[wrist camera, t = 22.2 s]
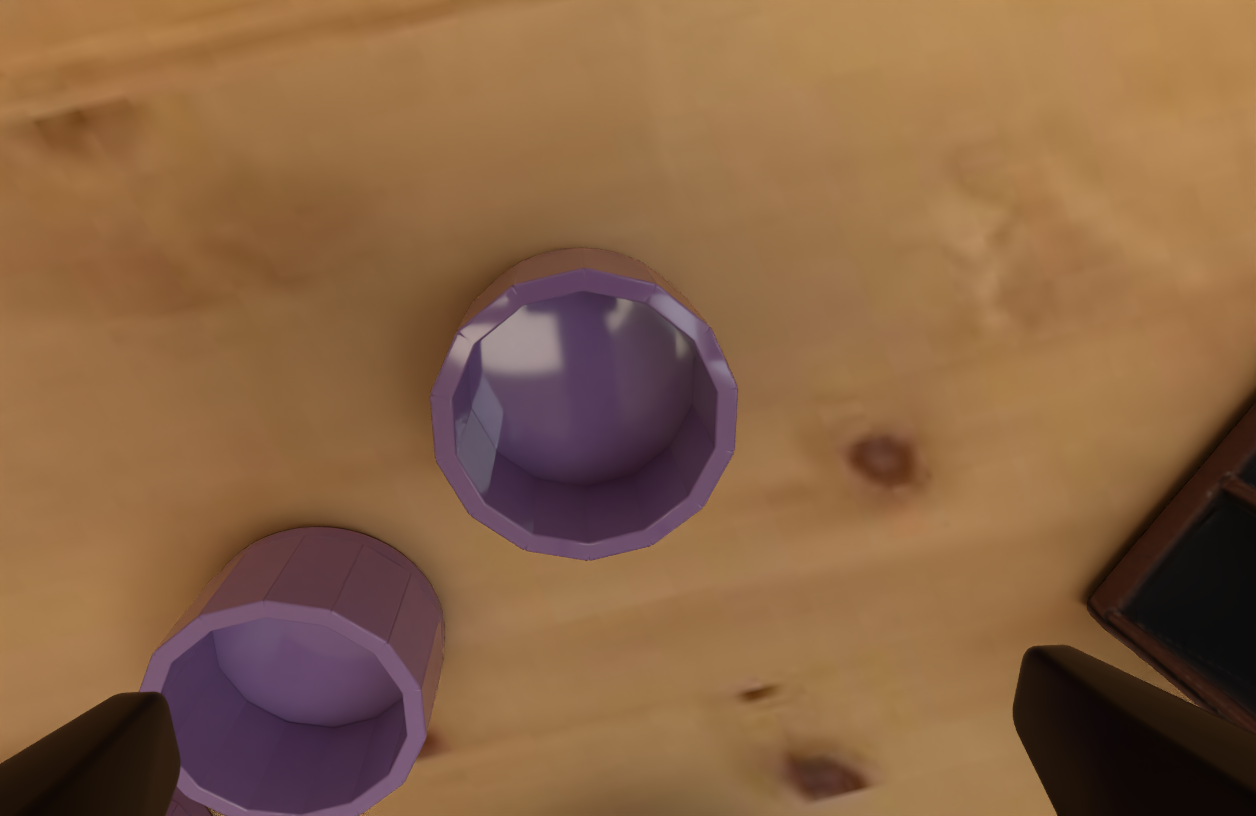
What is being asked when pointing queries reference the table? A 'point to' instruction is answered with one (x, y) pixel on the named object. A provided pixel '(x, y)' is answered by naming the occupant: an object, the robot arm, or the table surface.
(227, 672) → the dish
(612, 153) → the table surface
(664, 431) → the dish
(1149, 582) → the letter holder
